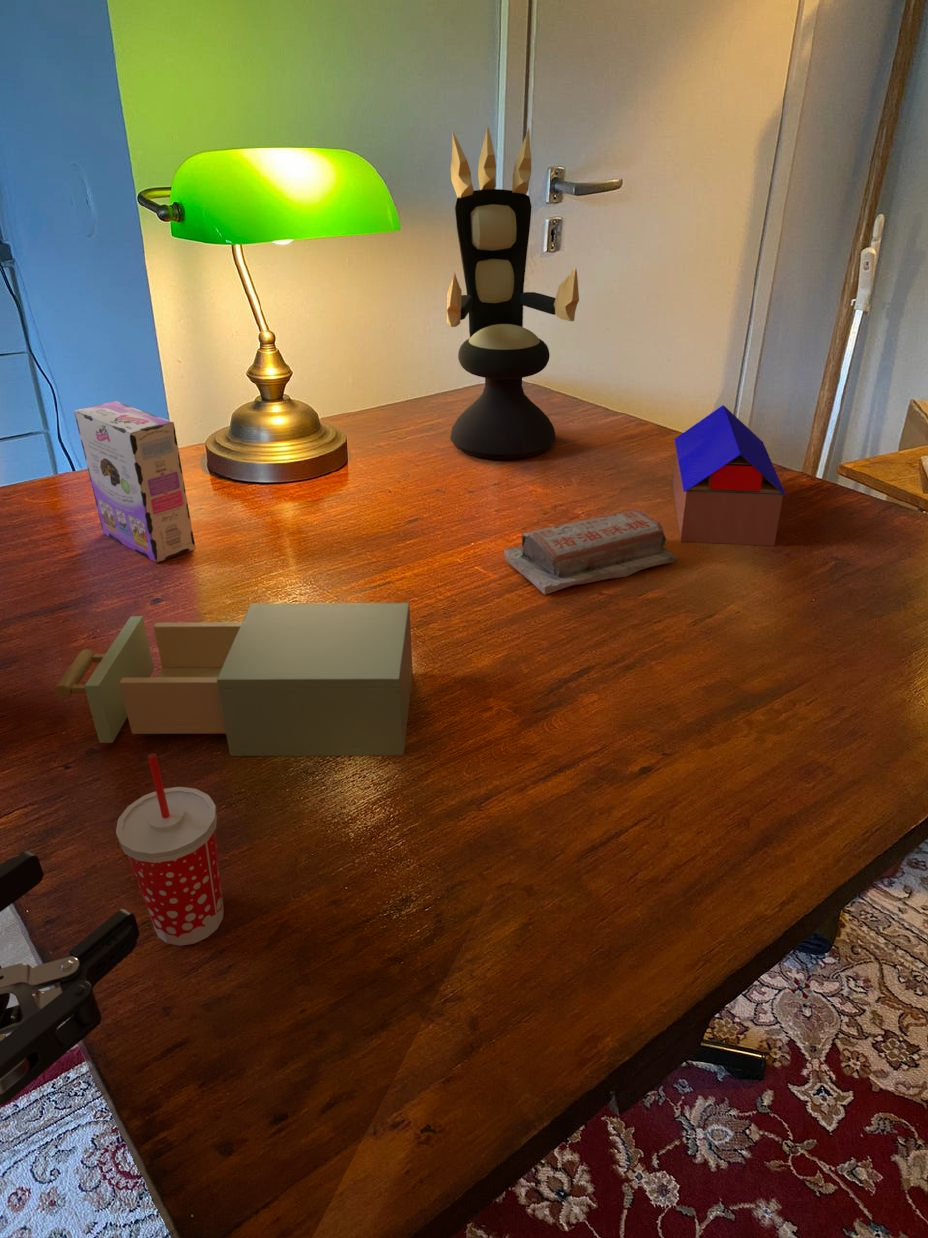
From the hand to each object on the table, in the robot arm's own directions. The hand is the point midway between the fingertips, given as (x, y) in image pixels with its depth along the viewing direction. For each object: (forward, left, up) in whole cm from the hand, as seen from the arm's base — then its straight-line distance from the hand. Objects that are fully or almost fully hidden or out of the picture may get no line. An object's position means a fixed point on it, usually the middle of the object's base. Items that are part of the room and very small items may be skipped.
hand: (83, 891), depth 53 cm
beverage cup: (+3, +5, -9) cm, 11 cm away
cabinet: (+9, +29, -8) cm, 32 cm away
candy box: (-19, +66, -9) cm, 70 cm away
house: (+55, +74, -9) cm, 93 cm away
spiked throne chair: (+26, +104, -9) cm, 108 cm away
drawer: (-4, +29, -7) cm, 31 cm away
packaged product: (+36, +59, -9) cm, 70 cm away
